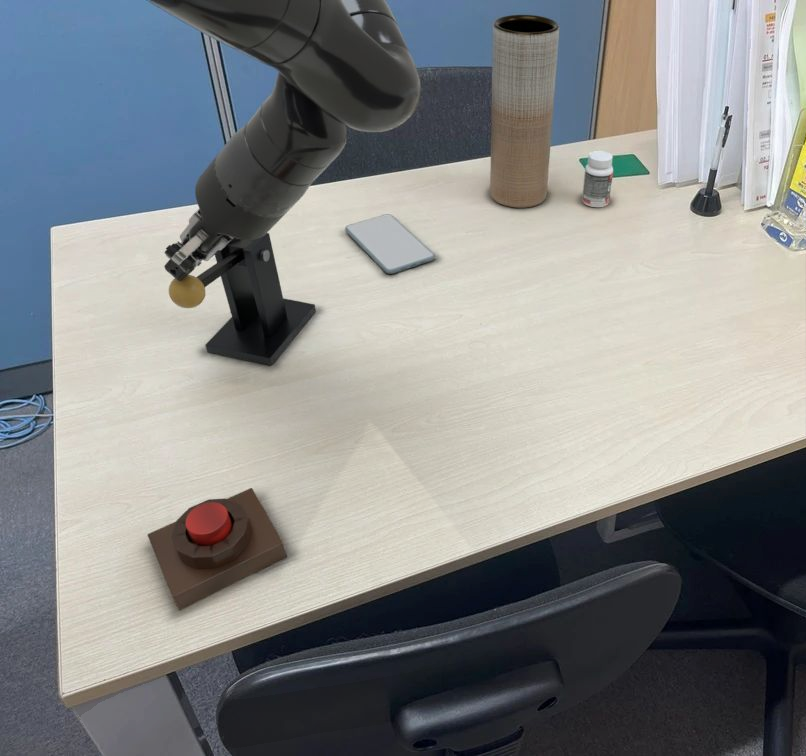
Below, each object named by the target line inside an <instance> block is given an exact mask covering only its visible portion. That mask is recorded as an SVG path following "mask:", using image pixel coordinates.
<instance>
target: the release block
mask: <svg viewBox="0 0 806 756" xmlns="http://www.w3.org/2000/svg"><path fill="white" fill-rule="evenodd" d="M209 502H215V503H219V504H221V505H223V506H224V507H225V508H226V509H227V512H228V515H229V517H230V520H231V523H232V526H231V530H230V532H229V534H228V535H227V536H226V537H225V538H224V539H223V540H222V541H220V542H218V543H216V544H213V545H208V546H203V545H199V544H196V543H195V542H194V541H193V540H192V539H191V537H190V535H189V532H188V530H187V528H186V524H185V523H186V518H187V516H188V514H189V513H190V512H191V511H192V510H193V509H194V508H196V507H197V506H199V505H201V504H204V503H209ZM147 538H148V540H149V543H150V546H151V547H152V550H153V553H154V556H155V558H156V560H157V563H158V566H159V569H160V570H161V573H162V574H163V578H164V580H165V583H166V585H167V587H168V590H169V593H170V595H171V597H172V600H173V602H174V604H175V606H176V607H177V609H178V611H182V610H184V609H186V608H188V607H189V606H190V607H191V606H192V605H194V604H196V603H197V602H200V601H201V600H203V599H205V598H208V597H210V596H212V595H214V594H216V593H218V592H220V591H221V590H224V589H226V588H228V587H229V586H231V585H233V584H235V583H237V582H239V581H242V580H243V579H245V578H247V577H249V576H251V575H254V574H256V573H258V572H259V571H261V570H263V569H265V568H268V567H269V566H271V565H274V564H275V563H277V562H279V561H282V560H284V559H285V558H287V557H288V555H287V552H286V549H285V548H286V547H285V545H284V542H283V540H282V539H281V537H280V535H279V533H278V531H277V530H276V527H274V524H273V522H272V520H271V519H270V517H269V515H268V514H267V511H266V510H265V509H264V506H263V505H262V503H261V501H260V499H259V498H258V496H257V494H256V492H255V491H254V489H253V488H252V487H250V488H248V489H246V490H243V491H241V492H239V493H237V494H235V495H232V496H230V497H227V498H210V499H206V500H204V501H201V502H199V503H197V504H194V505H192V506H190V507H189V508H187V509H186V510H185V511H184V512H183V513H182V514H181V515H180V516H179V517H178V518H177V519H176V521H174V522H171V523H169V524H167V525H165V526H162V527H161V528H158V529H156V530H153V531H151V532H149V533H147Z"/></svg>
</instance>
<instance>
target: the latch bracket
mask: <svg viewBox="0 0 806 756" xmlns="http://www.w3.org/2000/svg"><path fill="white" fill-rule="evenodd" d="M236 240H237V238H233V239H232V241H231V242H230V243H229V244H228V245H230V244H231V243H233V242H234V241H236ZM228 245H226V246H225V247H224V248H223V249H222V250H219V251H218V252H217V253H216V254H215V255H214V257H215V261H216V263H218V262H219V261H221V260H222V259H223V258H225V257H226V256H228V255H229V248H228ZM243 253H244V257H245V261H246V265H247V267H245V266H240V265H235V266H234V267H233V268H231V269H230V270H228V271H227V272H226V273H224V274H223V275H221V276H220V279H221V282H222V285H223V289H224V294H225V296H226V301H227V303H228V308H229V310H230V315H231V317H230V318H229V319H228V320H227V321H226V323H225V324H224V325H223V326H222V327H221V328H220V329H219V330H218V331H217V332H216V333H215V334H214V335H213V336H212V337H211V338H210V339H209V340H208V341H207V343H205V348H206V352H207V353H210V354H215V355H219V356H224V357H228V358H234V359H238V360H243V361H248V362H253V363H256V364H261V365H266V366H270V367H271V366H273V365H274V364H275V363H276V361H277V360H278V359H279V358H280V356H281V355H282V354H283V353H284V351H285V350H286V349H287V348H288V346H290V344H291V343H292V341H293V340H294V339H295V338H296V336H297V335H298V334H299V333H300V332H301V331H302V329H303V328H304V327H305V325H306V324H307V323H308V322H309V320H311V319H312V317H313V316H314V314H315V313H316V312H317V309H316V305H315V304H314V303H311V302H310V303H309V302H304V301H299V300H294V299H289V298H284V295H283V291H282V285H281V282H280V277H279V273H278V268H277V263H276V259H275V254H274V249H273V245H272V240H271V236H270V233H269V232H267V233H266V234H265V235H264V236H262V237H260V238H258V239H254V240H253V241H252V242H251V243H250V244H249V245H248V246H247V247H246V248H244V249H243Z"/></svg>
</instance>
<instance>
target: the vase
mask: <svg viewBox="0 0 806 756" xmlns="http://www.w3.org/2000/svg"><path fill="white" fill-rule="evenodd" d="M559 36H560V25H559V23H558V22H557V21H556V20H554V19H552V18H549V17H546V16H541V15H536V14H535V15H533V14H511V15H505V16H501V17H498V18H497V19H495V20H494V21H493V24H492V57H491V58H492V59H491V62H492V63H491V64H492V65H491V111H490V113H491V117H490V119H491V121H490V122H491V123H490V177H489V178H490V179H489V189H490V192H489V193H490V198H492V200H493V201H494V202H496V203H498V204H499V205H502V206H504V207H509V208H514V209H515V208H516V209H526V208H532V207H536V206H538V205H540V204H542V203H543V202H544V201H545V200H546V198H547V194H548V184H549V183H548V182H549V169H550V159H551V157H550V156H551V143H552V131H553V129H552V128H553V119H554V106H555V105H554V104H555V92H556V77H557V67H558V65H557V64H558V53H559V39H560V38H559Z"/></svg>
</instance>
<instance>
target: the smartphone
mask: <svg viewBox="0 0 806 756" xmlns="http://www.w3.org/2000/svg"><path fill="white" fill-rule="evenodd" d="M344 230H345V232H346V233H347V234H348V235H349V236H350V237H351V238H352V240H354V241H355V242H356V243H357V244H358V245H359V246H360V248H361V249H362V250H364V251H365V253H367V255H368V256H369V257H370V258H371V259H372V260H373V261H374V262H375V263H376V264H377V265H378V266H379V268H381V269H382V270H383V271H384V273H387V274H389V275H391V274H396V273H398V272H401V271H405V270H409V269H411V268H414V267H416V266H420V265H423V264H426V263H430V262H432V261H434V260H435V259H436V255H435V253H434V252H433V251H432V250H431V249H430V248H429V247H427V246H426V245H425V244H424V243H423V242H422V241H421V240H420V239H419V238H418V237H417V236H415V234H413V232H411V231H410V230H409V229H408V228H407V227H406V226H405V225H404V224H402V222H400V221H399V220H398V219H397V218H396V217H395V216H394V215H393V214H390V213H386V214H381V215H379V216H375V217H372V218H368V219H364V220H361V221H357V222H354V223H351V224H348V225H347V224H346V226H345V228H344Z"/></svg>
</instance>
